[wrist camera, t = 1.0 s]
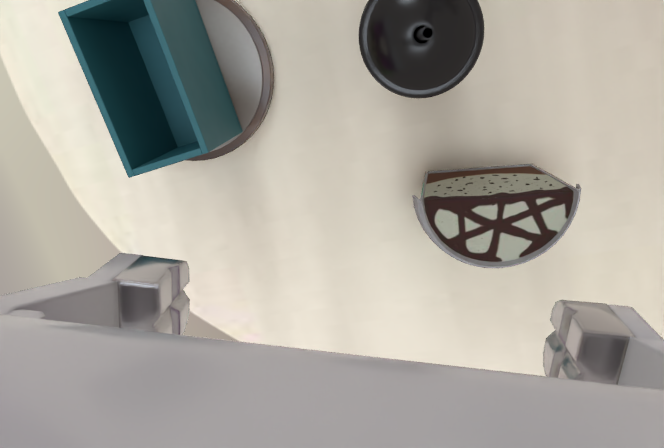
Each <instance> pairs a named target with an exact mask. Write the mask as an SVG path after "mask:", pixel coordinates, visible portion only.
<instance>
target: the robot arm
mask: <svg viewBox="0 0 664 448" xmlns="http://www.w3.org/2000/svg"><path fill="white" fill-rule="evenodd" d="M188 282H189V266H188V263H187V261H182V260H173V259H165V258H157V257H149V256H143V255H137V254H126V253H119V254H118V255H117V256H115V257H114V258H113V259H111V260H110V261H109V262H107V263H106V264H105V265H103V266H102V267H101V268H100V269H98V270H97V271H96V272H94V273H93V274H91V275H90V276H89V277H88V278H82V277H79V278H75V279H70V280H66V281H62V282H57V283H53V284H49V285H44V286H40V287H35V288H32V289H27V290H22V291H18V292H14V293H9V294H6V295H1V296H0V448H664V340H663V339H662V338H661V337H660V335H659V334H658V333H657V332H656V331H655V330H654V329H653V328H652V327H651V326H650V325H649V324H648V323H647V322H646V321H645V320H644V319H643V318H642V317H641V316H640V315H639V314H638V313H637V312H636V311H635V310H634V309H633V308H632V307H629V306H619V305H607V304H603V303H591V302H579V301H567V300H559V301H557V302H555V305H554V307H553V309H552V313H551V318H550V321H551V323H552V325H553V327H554V329H555V331H554V332H553V333H552V334H551V335H549V336H548V337H547V338H546V341H545V347H544V352H543V366H544V371H545V374H546V376H537V375H529V374H520V373H511V372H502V371H494V370H485V369H476V368H467V367H458V366H450V365H441V364H432V363H423V362H414V361H406V360H397V359H388V358H379V357H371V356H362V355H353V354H344V353H335V352H327V351H318V350H309V349H300V348H291V347H283V346H274V345H265V344H256V343H247V342H239V341H230V340H221V339H212V338H203V337H195V336H185V335H183V333H184V332H185V328H186V325H187V322H188V317H189V305H190V299H189V298H188V296H187V295H186V294H185V292H184V291H183V289H184V287H185V286H186V285H187V284H188Z"/></svg>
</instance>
